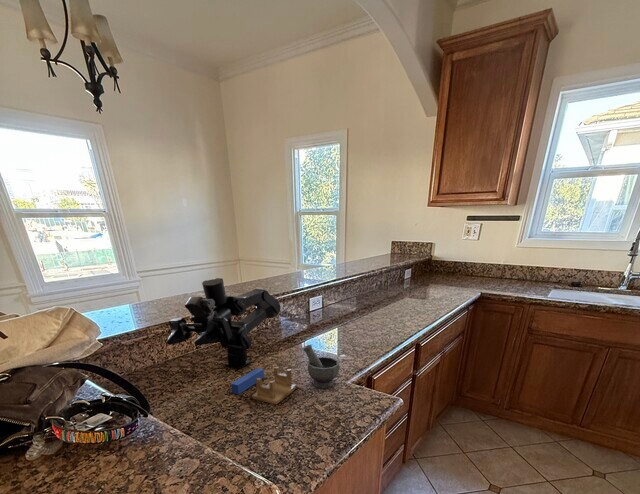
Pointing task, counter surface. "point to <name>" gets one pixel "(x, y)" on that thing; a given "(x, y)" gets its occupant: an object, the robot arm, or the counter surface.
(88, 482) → the counter surface
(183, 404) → the counter surface
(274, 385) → the holder
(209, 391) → the counter surface
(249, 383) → the blue rectangular block
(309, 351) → the mortar and pestle
